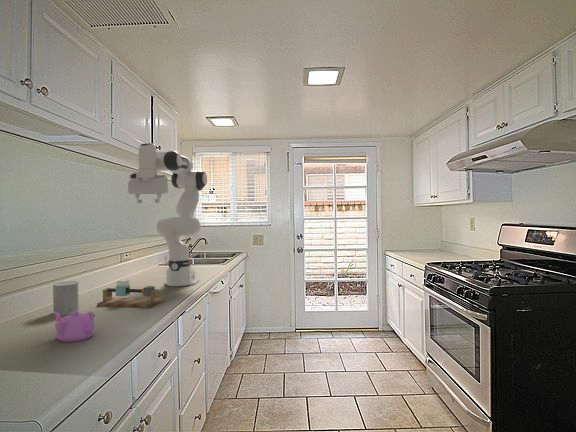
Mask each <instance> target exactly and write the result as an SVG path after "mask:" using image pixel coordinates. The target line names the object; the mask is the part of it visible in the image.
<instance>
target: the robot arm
mask: <svg viewBox="0 0 576 432" xmlns="http://www.w3.org/2000/svg"><path fill="white" fill-rule="evenodd" d="M156 146H157V145H156V144H155V143H151V142H150V143H141V144H139V147H138V154H137V157H138V158H137V159H138V170H137V171H136V172H134V173H131V174H129V175H128V179H129V181H128V183H127V184H128V185H127V193H128V194H130V195H134V197H135V198H136V201H137V204H142V203H143V200H142V199H141V198H140V197H141V195H154V194H156V196H157V197H156V199H154V204H159V203H160V200H161V198H162V195H163V194H168V193H169V186H168V184H169V183H168V182H169V181H168V177H167V176H166V175H165V174H161V175H160V174H158V171H170V172H171V173H172V174H171V177H170V180H171V185H172V186H173V187H174V188H176V189H184V191H183V192H182V193H181V195H180V197H179V199H178V202H177V204H176V207H175V213H176V214H177V216H174V217H173V216H169V217H164V218H163V217H162V218H159V220H158V221H157V222H156V230H157V233H158V234H159V235H160V236H162V238H163V239H164V240H165V242H166V244H167V247H168V258H169V259H168V263H167V264H168V265H167V267H168V268H167V269H166V273H165V274H166V278H165V281H164V283H163V284H164V285H166V286H169V287H182V286H183V287H184V286H192V285H193V286H194V285H196V284H197V283H198V282H200V278H197V276H196V275H197V274H196V271H195V269H194V268H193V267H192V266H191V263H192V258H191V259H190V252H189V246H188V244H187V243H185V242H184V241H182V240H181V238H180V237H190V236H196V235H198V233H199V232H200V231H201V222H200V220H199V219H198V218H196V216H195V214H196V213H195V212H196V209H197V206H198V203H199V199H200V193H199V191H200V192H201V191H202V190H203V189H204V188H205V186H206V185H207V184H208V177H207V173H206V172H205V171H204V170H199V169H197V170H193V168H194V163H193V161H192V160H191V159H190V158H189V157H186V156H184V155H181V154H180V153H179V152H177V151H176V150H170V151H158V150H157V147H156Z"/></svg>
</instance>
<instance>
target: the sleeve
mask: <svg viewBox="0 0 576 432" xmlns="http://www.w3.org/2000/svg"><path fill="white" fill-rule="evenodd" d="M115 289H116V292H115V297H127V296H130V295H131V292H126V289H131V285H130V280H129V279H119V280H116V286H115Z"/></svg>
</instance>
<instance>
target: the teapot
mask: <svg viewBox="0 0 576 432" xmlns="http://www.w3.org/2000/svg"><path fill="white" fill-rule="evenodd" d="M53 313H54V314H55V315H54V314H53V315H54V316H55V319H56V320H55V321H56V322H55V325H54V326H55V330H56V332H55V338H57V340H58V341H59V342H63V343H75V342H80V341H85V340H87V339H89V338H91V337H92V335H93V334H94V333H95V331H96V330H95V325H96V324H95V316H96V315H97V313H95V314H94V312H93V311H89V312H88V311H87V312H86V313H80V310H79V311H74V312H71V313H72V314H68V315H64V316H63V318H62V315H60V314H59V313H58V312H54V311H53Z"/></svg>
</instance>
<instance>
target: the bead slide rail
mask: <svg viewBox="0 0 576 432" xmlns="http://www.w3.org/2000/svg"><path fill="white" fill-rule="evenodd" d="M105 289H108V291H109V292H112V293H116V287H115V288H113V287H112V288H111V287H107V288H105ZM152 290H156V288H155V285H153V286H152V285H147V286H145V287H142V288H130V289H126V292H130V293H135V294H136V293H138V294H139V293H141V294H142V295H143V296H144V297H151V291H152Z"/></svg>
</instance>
